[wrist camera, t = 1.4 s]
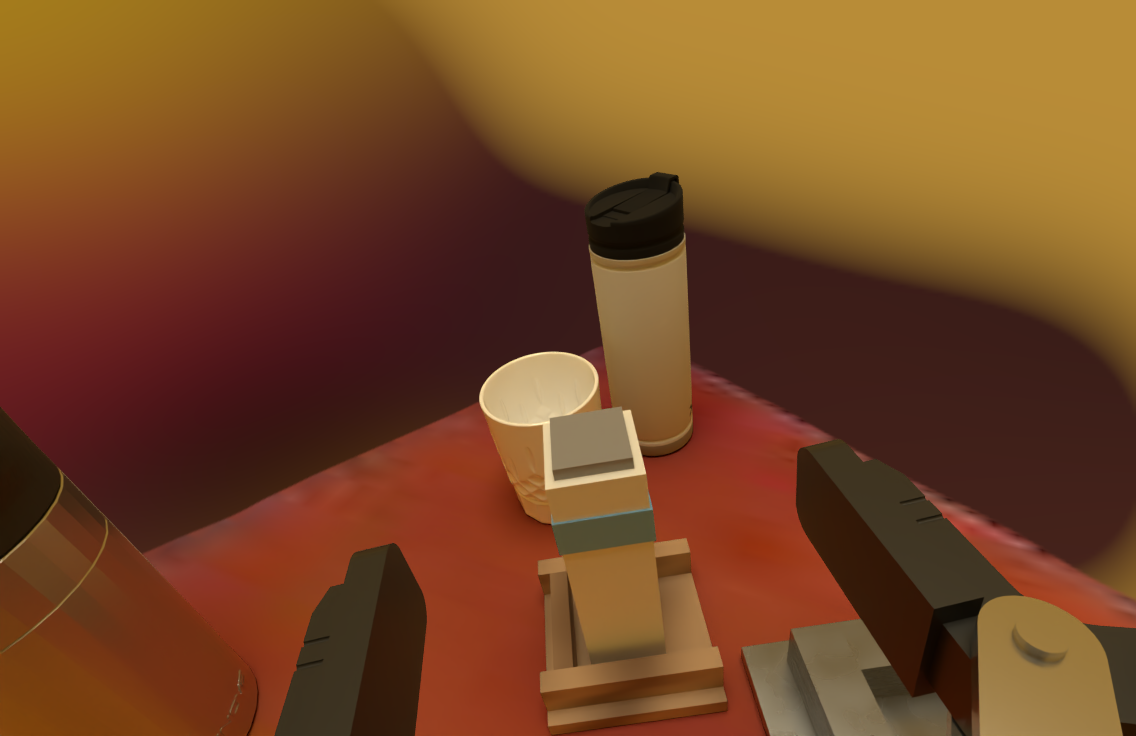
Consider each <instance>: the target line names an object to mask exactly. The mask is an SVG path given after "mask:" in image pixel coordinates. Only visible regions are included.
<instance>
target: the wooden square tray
mask: <svg viewBox="0 0 1136 736" xmlns="http://www.w3.org/2000/svg"><path fill="white" fill-rule="evenodd" d="M654 549H655V558H656V567H657V576H658V585H659V594H660V603H661V612H662V621H663V630H664V639H665V648H666V654H661V655H654V656H648V657H641V658H634V659H627V660H620V661H613V662H606V663H599V664H592V665H591V661H590V657H589V654H588V650H587V646H586V642H585V638H584V635H583V631H582V627H581V623H580V620H579V616H578V612H577V608H576V605H575V601H574V597H573V593H572V589H571V586H570V582H569V578H568V574H567V571H566V567H565V563H564V559H563V557H560V558H553V559H547V560H540V561H538V576H539V580H540V583H541V586H542V589H543V592H544V601H545V636H546V671H544V672H540V693H541V696H542V698H543V701H544V703H545V706H546V709H547V711H548V728H549V730H550V733H551V735H557V734H564V733H571V732H578V731H585V730H592V729H599V728H607V727H614V726H621V725H628V724H635V723H642V722H649V721H657V720H664V719H671V718H678V717H685V716H692V715H699V714H706V713H714V712H721V711H727V698H726V694H725V691H724V687H723V664H722V660H721V657H720V653H719V650H718V646H717V647H712V645H711V641H710V638H709V634H708V630H707V627H706V623H705V620H704V616H703V613H702V609H701V606H700V602H699V598H698V595H697V591H696V588H695V584H694V581H693V577H692V574H691V558H690V550H689V546H688V543H687V539H686V538H684V539H677V540H671V541H664V542H658V543H654Z"/></svg>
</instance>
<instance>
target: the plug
mask: <svg viewBox="0 0 1136 736" xmlns="http://www.w3.org/2000/svg"><path fill="white" fill-rule="evenodd" d="M549 419H550V423H546V424H543V444H544V471H545V491H546V495H547V499H548V503H549V506H550V510H551V522H552V529H553V532H554V536H555V540H556V543H557V547H558V551H559V555H563V559H564V563H565V567H566V571H567V574H568V578H569V582H570V586H571V589H572V593H573V597H574V601H575V605H576V608H577V612H578V616H579V620H580V623H581V627H582V631H583V635H584V638H585V642H586V646H587V650H588V654H589V657H590V661H591V665H592V664H599V663H606V662H613V661H620V660H627V659H634V658H641V657H648V656H654V655H661V654H666V648H665V639H664V630H663V621H662V612H661V603H660V594H659V585H658V576H657V567H656V558H655V549H654V541H656V534H655V525H654V515H653V508H652V504H651V500H650V496H649V492H648V485H647V476H646V471H645V467H644V463H643V459H642V455H641V451H640V447H639V443H638V438H637V434H636V430H635V426H634V422H633V418H632V414H631V410H626V411H622V406H621V407H615V408H609V409H602V410H596V411H590V412H584V413H578V414H572V415H566V416H560V417H553V418H549Z"/></svg>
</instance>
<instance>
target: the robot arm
mask: <svg viewBox="0 0 1136 736" xmlns="http://www.w3.org/2000/svg"><path fill="white" fill-rule="evenodd" d="M796 507H797V513H798V516H799V520H800V522H801V525H802V527H803V529H804V531H805V533H806V535H807V537H808V538H809V540H810V541H811V543H812V544H813V546H814V547H815V549H816V550H817V552H818V554H819V555H820V557H821V558H822V560H823V561H824V563H825V564H826V566H827V567H828V569H829V570H830V572H831V573H832V575H833V577H834V578H835V580H836V581H837V583H838V584H839V586H840V587H841V589H842V590H843V592H844V593H845V595H846V597H847V598H848V600H849V601H850V603H851V604H852V606H853V607H854V609H855V610H856V612H857V613H858V615H859V617H860V618H861V620H862V621H863V623H864V624H865V626H866V627H867V629H868V630H869V632H870V633H871V635H872V637H873V638H874V640H875V641H876V643H877V644H878V646H879V647H880V649H881V650H882V652H883V653H884V655H885V656H886V658H887V660H888V661H889V663H890V664H891V666H892V667H893V669H894V670H895V672H896V673H897V675H898V676H899V678H900V680H901V681H902V683H903V684H904V686H905V687H906V689H907V690H908V692H909V693H910V695H911V696H912V698H914V697H918V696H922V695H926V694H930V693H935V692H936V693H937V695H938V696H939V698H940V699H941V701H942V702H943V703H944V705H945V706H946V708H947V709H948V713H947V722H946V736H1136V628H1124V627H1110V626H1098V625H1090V624H1085V623H1081V622H1080V621H1079V620H1078V619H1077V618H1075V617H1074V616H1072V615H1071V614H1069V613H1068V612H1066V611H1064V610H1062V609H1060V608H1058V607H1057V606H1054V605H1052V604H1049V603H1047V602H1044V601H1041V600H1038V599H1035V598H1030V597H1025V596H1023V595H1022V594H1020V593H1019V592H1018V591H1017V590H1016V589H1015V588H1014V587H1013V586H1012V585H1011V584H1010V583H1009V582H1008V581H1007V580H1006V579H1005V578H1004V577H1003V576H1002V575H1001V574H1000V573H999V572H998V571H997V570H996V569H995V568H994V567H993V566H992V565H991V564H990V563H989V562H988V561H987V560H986V559H985V557H984V556H983V555H982V554H981V553H980V552H979V551H978V550H977V549H976V548H975V547H974V546H973V545H972V544H971V543H970V542H969V541H968V540H967V539H966V538H965V537H964V536H963V535H962V534H961V533H960V532H959V531H958V530H957V529H956V528H955V527H954V525H953V524H952V523H951V522H950V521H949V520H948V519H947V518H945V519H944V518H943V516H942V513H941V512H940V511H939V510H938V509H937V508H936V507H935V506H934V505H933V504H932V503H931V502H930V501H929V500H928V501H927V500H926V499H925V496H924V495H923V494H922V492H921V491H920V490H919V489H918V488H917V487H916V486H915V485H914V484H913V483H912V482H911V481H910V480H909V479H908V478H907V477H906V476H905V475H904V474H902V473H900V472H898V471H897V470H895V469H893V468H891V467H889V466H888V465H886V464H884V463H882V462H880V461H879V460H877V459H874V460H870V461H865V462H863V461H862V460H861V459H860V458H859V457H858V456H857V455H856V454H855V453H854V451H853V450H852V449H851V448H850V447H849V446H848V445H847V444H846V443H845V442H844V441H842V440H840V439H837V440H833V441H828V442H824V443H820V444H816V445H812V446H807V447H803V448H800V449H799V451H798V456H797V488H796ZM426 624H427V613H426V605H425V600H424V596H423V593H422V591H421V589H420V587H419V585H418V583H417V581H416V579H415V577H414V575H413V573H412V571H411V569H410V568H409V566H408V564H407V562H406V560H405V558H404V556H403V554H402V552H401V550H400V549H399V547H398V546H397V545H396V544H394V543H392V544H388V545H383V546H379V547H375V548H371V549H366V550H362V551H358V552H355V553H354V554H353V555H352V557H351V559H350V563H349V566H348V570H347V574H346V578H345V581H344V584H340V585H336V586H332V587H330V588H329V590H328V591H327V593H326V594H325V596H324V597H323V598H322V600H321V601H320V603H319V604H318V606H317V607H316V609H315V610H314V612H313V613H312V616H311V619H310V622H309V626H308V629H307V632H306V635H305V638H304V647H302V648H301V651H300V655H299V658H298V661H297V664H296V666H297V671H295V672H294V674H293V677H292V680H291V684H290V687H289V690H288V693H287V697H286V700H285V703H284V706H283V710H282V713H281V716H280V719H279V722H278V726H277V729H276V732H275V735H274V736H415V728H416V719H417V709H418V700H419V690H420V681H421V672H422V662H423V653H424V643H425V634H426ZM257 693H258V690H257V684H256V678H255V676H254V674H253V672H252V670H251V669H250V667H249V666H248V665H247V664H246V663H245V662H244V661H243V660H242V659H241V658H240V657H239V656H238V654H237V653H236V652H235V651H234V650H233V649H232V648H231V647H230V646H229V645H228V644H227V643H226V642H225V641H224V640H223V639H222V638H221V637H220V636H219V635H218V633H217V632H216V631H215V630H214V629H213V628H212V627H211V626H210V625H209V624H208V623H207V622H206V621H205V620H204V619H203V617H202V616H201V615H200V614H199V613H198V612H197V611H196V610H195V609H194V608H193V607H192V606H191V605H190V604H189V603H188V602H187V601H186V600H185V599H184V598H183V597H182V596H181V595H180V594H179V593H178V591H177V590H176V589H175V588H174V587H173V586H172V585H171V584H170V583H169V582H168V581H167V580H166V579H165V578H164V577H163V576H162V575H161V574H160V573H159V572H158V571H157V570H156V569H155V568H154V566H153V565H152V564H151V563H150V562H149V561H148V560H147V559H146V558H145V557H144V556H143V555H142V554H141V553H140V552H139V551H138V550H137V549H136V548H135V547H134V546H133V545H132V544H131V543H130V542H129V540H128V539H127V538H126V537H125V536H124V535H123V534H122V533H121V532H120V531H119V530H118V529H117V528H116V527H115V526H114V525H113V524H112V523H111V522H110V521H109V520H108V519H107V518H106V517H105V516H104V515H103V513H102V512H100V511H99V510H98V509H97V508H96V507H95V506H94V505H93V503H92V502H91V501H90V500H89V499H88V498H87V497H86V496H85V495H84V494H83V493H82V492H81V491H80V490H79V489H78V488H77V487H76V486H75V485H74V484H73V483H72V482H71V481H70V480H69V479H68V478H67V477H66V476H65V474H63V473H62V471H61V470H60V469H59V468H58V467H57V466H56V465H55V464H54V463H53V462H52V461H51V460H50V459H49V458H48V457H47V456H46V455H45V454H44V453H43V452H42V451H41V450H40V449H39V448H38V447H37V446H36V445H35V444H34V443H33V442H32V441H31V440H30V438H29V437H28V436H27V435H26V434H25V433H24V432H23V431H22V430H21V429H20V428H19V427H18V426H17V425H16V423H15V422H14V421H13V420H12V419H11V418H10V417H9V416H8V415H7V414H6V413H5V411H4V410H3V409H2V408H1V407H0V736H247V733H248V731H249V729H250V727H251V724H252V721H253V717H254V714H255V710H256V705H257Z"/></svg>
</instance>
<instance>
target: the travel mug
mask: <svg viewBox="0 0 1136 736" xmlns="http://www.w3.org/2000/svg"><path fill="white" fill-rule="evenodd" d="M585 217H586V224H587V231H588V234H589V251H590V255H591V264H592V272H593V279H594V285H595V292H596V298H597V306H598V312H599V320H600V326H601V333H602V340H603V347H604V354H605V361H606V368H607V374H608V381H609V388H610V395H611V402H612V408H615V407H621V406H622V411H626V410H631V414H632V418H633V422H634V426H635V430H636V434H637V438H638V443H639V447H640V451H641V455H647V456H658V455H665V454H668V453H671V452H674V451H676V450H678V449H679V448H681V447H683V446H684V445H685V444H686V443H687V442H688V440H689V439H690V437H691V435H692V432H693V417H692V392H691V367H690V343H689V318H688V294H687V293H688V292H687V266H686V246H685V233H684V225H683V220H684V215H683V191H682V188H681V185H679V179H678V176H677V175H672V174H666V173H659V172H657V173H654V174H652V175H650V177H649V178H641V179H635V180H630V181H626V182H623V183H620V184H617V185H614V186H612V187H609V188H607V189H605V190H603V191H602V192H600V193H598V194H597V195H595V196H594V197H593V198H592V199H591V200H590V201H589V202H588V204H587V205H586V207H585Z"/></svg>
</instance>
